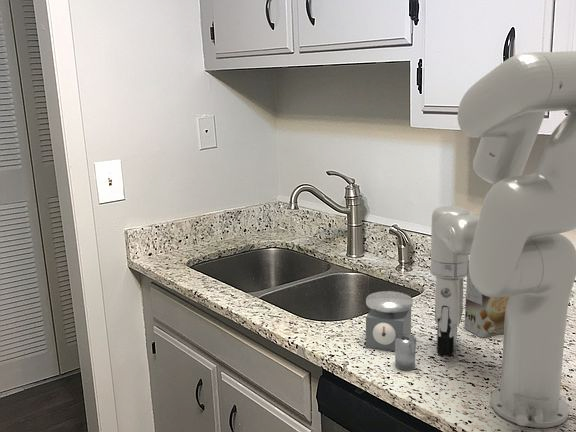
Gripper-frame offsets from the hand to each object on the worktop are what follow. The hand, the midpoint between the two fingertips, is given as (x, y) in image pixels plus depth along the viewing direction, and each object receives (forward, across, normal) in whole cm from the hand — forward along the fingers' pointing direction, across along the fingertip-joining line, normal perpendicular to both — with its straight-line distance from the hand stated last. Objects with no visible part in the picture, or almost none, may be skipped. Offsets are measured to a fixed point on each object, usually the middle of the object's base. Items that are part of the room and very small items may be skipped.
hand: (446, 348), depth 127 cm
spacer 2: (0, 0, 0) cm, 0 cm away
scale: (0, +1, +12) cm, 13 cm away
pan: (-7, +1, +12) cm, 14 cm away
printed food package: (+1, +13, -8) cm, 15 cm away
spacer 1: (0, -10, +7) cm, 12 cm away
